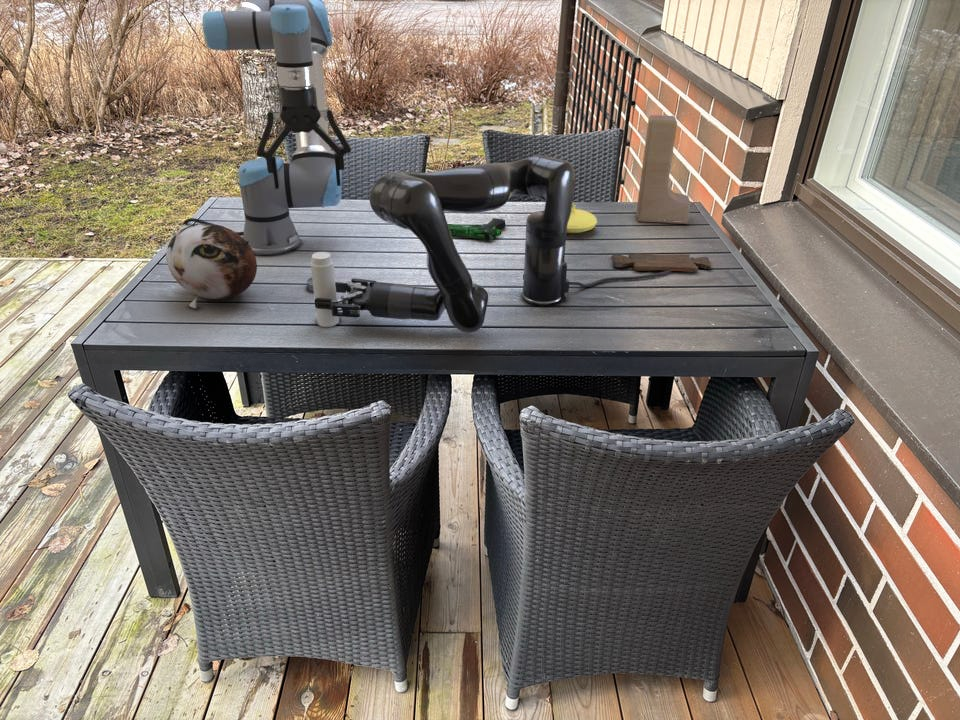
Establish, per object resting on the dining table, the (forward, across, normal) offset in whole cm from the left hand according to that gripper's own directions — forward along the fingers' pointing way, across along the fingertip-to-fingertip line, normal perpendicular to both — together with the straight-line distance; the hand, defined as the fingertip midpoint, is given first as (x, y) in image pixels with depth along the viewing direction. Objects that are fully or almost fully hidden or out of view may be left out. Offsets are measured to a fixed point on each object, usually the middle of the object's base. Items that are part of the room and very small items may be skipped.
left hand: (308, 185), depth 162 cm
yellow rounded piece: (+25, +73, +27) cm, 82 cm away
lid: (+24, 0, -1) cm, 24 cm away
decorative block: (+25, +104, +30) cm, 111 cm away
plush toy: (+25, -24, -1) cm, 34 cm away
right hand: (+18, +1, -19) cm, 26 cm away
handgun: (+25, +45, +29) cm, 60 cm away
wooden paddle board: (+25, +89, -3) cm, 92 cm away
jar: (+25, +2, -19) cm, 32 cm away
